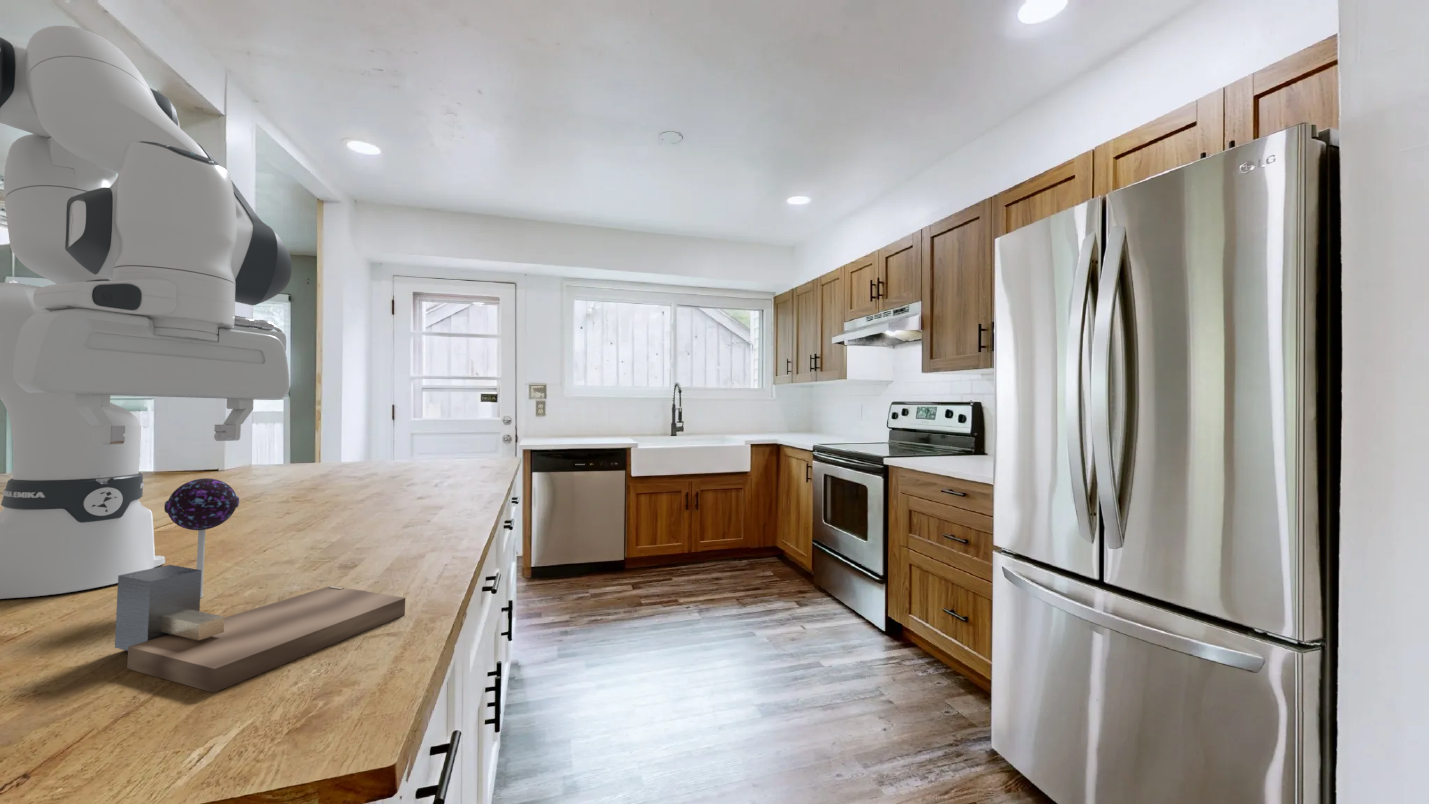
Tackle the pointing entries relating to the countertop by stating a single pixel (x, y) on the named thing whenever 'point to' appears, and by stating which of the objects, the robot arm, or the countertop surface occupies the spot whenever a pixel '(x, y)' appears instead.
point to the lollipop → (201, 509)
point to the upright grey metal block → (162, 606)
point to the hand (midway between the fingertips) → (172, 442)
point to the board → (264, 637)
